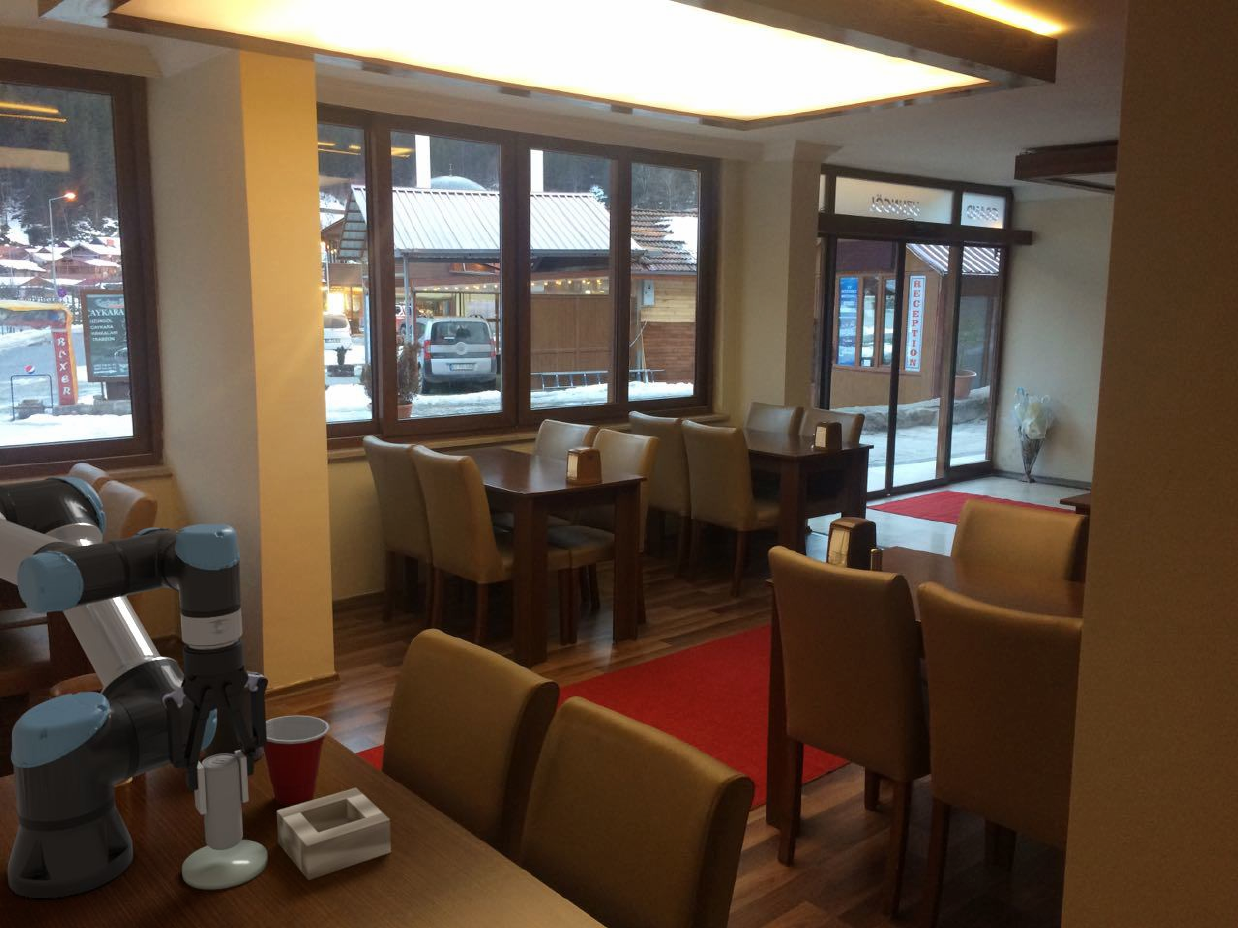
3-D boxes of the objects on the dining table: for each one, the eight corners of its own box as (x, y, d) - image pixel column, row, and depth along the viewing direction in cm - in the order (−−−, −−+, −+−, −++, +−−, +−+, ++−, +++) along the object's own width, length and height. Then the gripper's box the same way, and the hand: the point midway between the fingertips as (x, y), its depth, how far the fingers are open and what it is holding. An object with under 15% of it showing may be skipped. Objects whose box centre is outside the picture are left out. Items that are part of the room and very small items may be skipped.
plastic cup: (341, 801, 159) (339, 729, 157) (271, 821, 153) (267, 745, 151) (319, 775, 168) (316, 706, 166) (252, 792, 162) (248, 721, 160)
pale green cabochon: (173, 862, 142) (172, 855, 142) (252, 837, 148) (252, 831, 148) (194, 898, 133) (194, 891, 133) (278, 871, 140) (278, 864, 140)
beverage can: (230, 853, 137) (225, 769, 135) (198, 849, 138) (193, 766, 136) (249, 835, 142) (245, 754, 140) (218, 831, 143) (214, 751, 141)
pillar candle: (229, 773, 169) (225, 686, 166) (193, 758, 174) (189, 674, 172) (277, 752, 177) (274, 670, 175) (241, 739, 182) (238, 658, 180)
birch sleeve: (278, 842, 147) (276, 810, 146) (357, 818, 154) (356, 787, 153) (308, 880, 138) (307, 845, 137) (390, 852, 145) (390, 819, 144)
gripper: (147, 662, 127) (159, 835, 131) (289, 635, 138) (296, 795, 142) (134, 646, 133) (145, 812, 137) (270, 621, 144) (277, 776, 148)
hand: (222, 803), depth 139 cm, fingers closed on beverage can, 5 cm apart
